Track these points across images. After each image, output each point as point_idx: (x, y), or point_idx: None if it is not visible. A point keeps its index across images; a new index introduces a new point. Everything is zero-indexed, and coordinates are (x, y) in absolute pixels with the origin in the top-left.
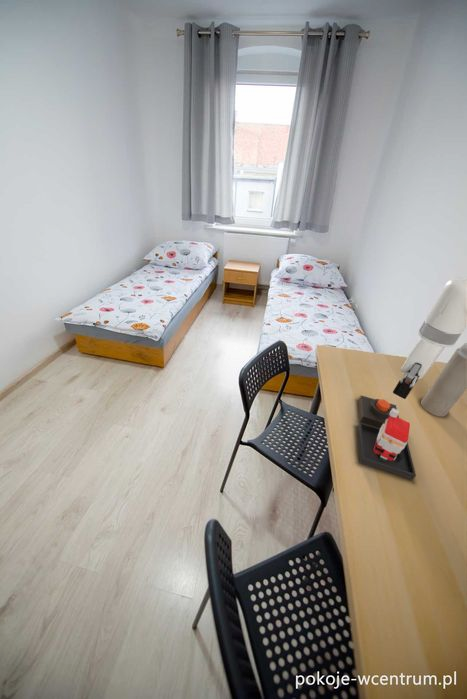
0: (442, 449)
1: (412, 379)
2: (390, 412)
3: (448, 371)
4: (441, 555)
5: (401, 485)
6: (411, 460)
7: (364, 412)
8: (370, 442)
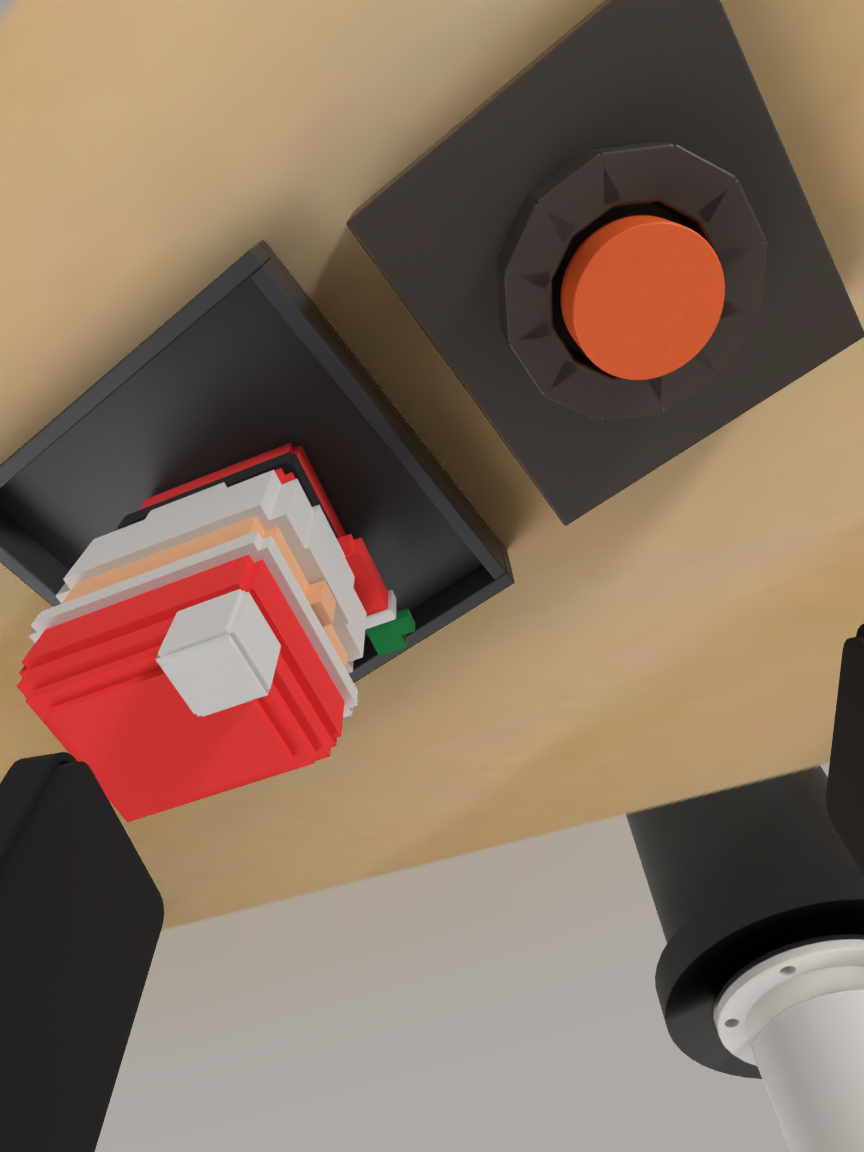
0: (687, 717)
1: (853, 792)
2: (193, 617)
3: None
4: None
5: None
6: None
7: (420, 192)
8: (205, 434)
